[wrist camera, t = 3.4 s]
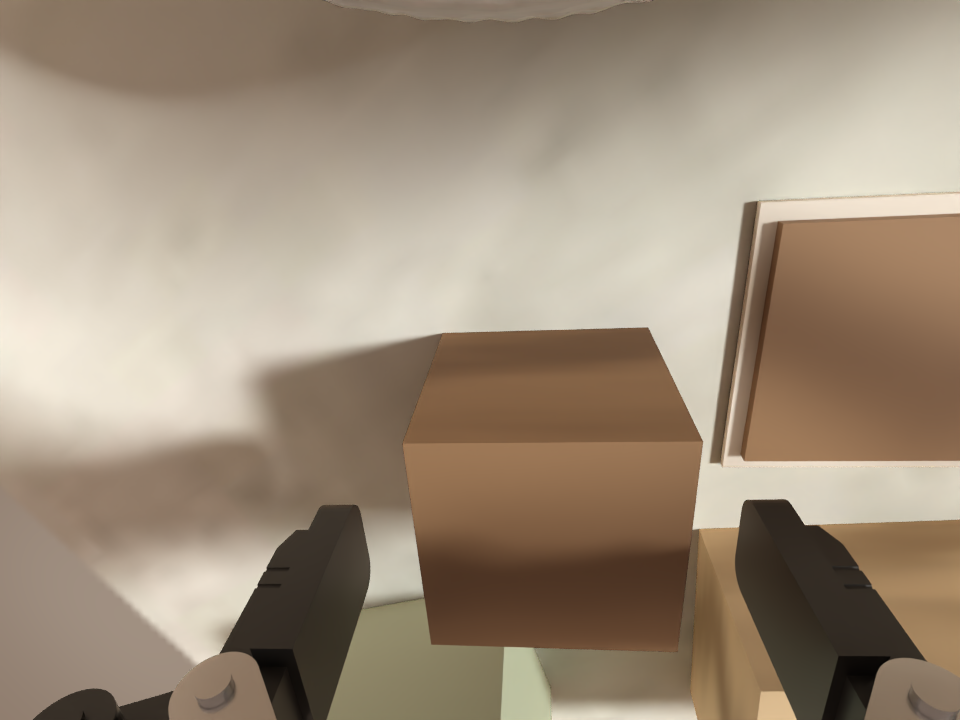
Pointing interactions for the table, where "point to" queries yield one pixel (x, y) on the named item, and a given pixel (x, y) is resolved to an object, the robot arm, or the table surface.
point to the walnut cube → (553, 490)
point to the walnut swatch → (849, 335)
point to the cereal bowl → (483, 8)
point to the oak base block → (893, 574)
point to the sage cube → (433, 674)
